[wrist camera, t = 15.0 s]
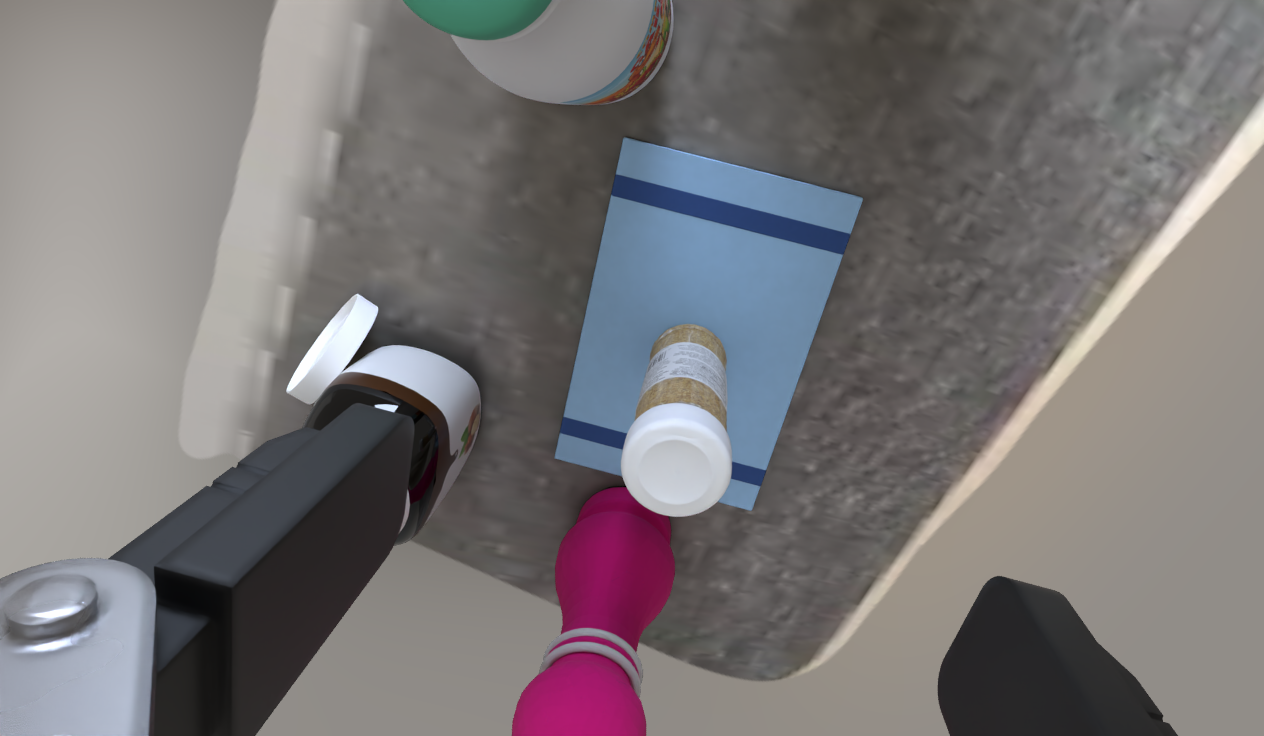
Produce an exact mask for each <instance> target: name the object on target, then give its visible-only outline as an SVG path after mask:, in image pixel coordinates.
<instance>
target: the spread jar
mask: <svg viewBox="0 0 1264 736" xmlns="http://www.w3.org/2000/svg"><path fill="white" fill-rule="evenodd" d="M377 314H378V307H377V306H376V305H374V304H373V303H371V302H369V301H368V300H366V299H365V298H363V297H362V296H360V295H359V294H356V295H354V296H353V297H352V298H351V299H350V300H349V301H348V302H347V303H346V304H345V305H344V306H343V307H342V308H341V309H340V310H339V312H338V313H337V314H336V315H335V316H334V317H333V319H332V320H331V321H330V322H329V324H328V325H327V326H326V328H325V329H324V330H323V332H322V333H321V334H320V336H319V337H318V338H317V340H316V341H315V343H314V344H313V345H312V347H311V348H310V350H309V351H308V353H307V354H306V356H305V357H304V359H303V360H302V362H301V363H300V365H299V366H298V368H297V370H296V371H295V373H294V375H293V377H292V379H291V380H290V382H289V385H288V387H287V390H286V391H287V393H288V394H290V395H292V396H294V397H296V398H297V399H299V400H301V401H303V402H305V403H306V404H312V403H314V402H315V401H316V402H315V404H314V406H313V407H312V409H311V411H310V413H309V415H308V416H307V418H306V420H305V422H304V424H303V426H302V428H301V429H303V428H305V427H308V428H311V429H315V430H319V431H320V430H322V429H323V428H324V427H325V426H327V425H328V424H329V423H330V422H332V421H333V420H334V419H335V418H336V417H338V416H339V415H340V414H341V413H343V412H344V411H345V410H346V409H348V408H349V407H350V406H351V405H353V404H355V403H361V404H365V405H368V406H372V407H376V408H380V409H383V410H387V411H391V412H395V413H398V414H402V415H406V416H410V417H411V418H412V419H413V422H414V440H413V449H412V457H411V465H410V474H409V482H408V490H407V498H406V507H405V513H404V518H403V522H402V526H401V529H400V532H399V534H398V537H397V539H396V542H395V544H394V546H396V545H399V544H403V543H406V542H407V541H409V540H410V539H412V538H413V537H414V536H415V535H416V534H417V533H418V532H419V531H420V530H421V529H422V527H423V526H424V525H425V524H426V522H427V521H428V519H429V518H430V517H431V515H432V514H433V512H434V511H435V510H436V508H437V507H438V505H439V504H440V503H441V501H442V500H443V498H444V497H445V495H446V494H447V493H448V491H449V490H450V488H451V486H452V485H453V483H454V482H455V480H456V478H457V477H458V475H459V473H460V471H461V469H462V468H463V466H464V464H465V462H466V460H467V458H468V456H469V454H470V452H471V450H472V448H473V445H474V443H475V440H476V437H477V434H478V431H479V427H480V422H481V414H482V401H481V394H480V390H479V387H478V385H477V383H476V381H475V380H474V378H473V377H472V376H471V375H470V374H469V373H468V372H467V371H466V370H464V369H463V368H462V367H460V366H459V365H457V364H455V363H454V362H452V361H450V360H448V359H447V358H444V357H442V356H440V355H438V354H435V353H432V352H429V351H426V350H422V349H419V348H414V347H409V346H402V345H390V346H384V347H381V348H378V349H376V350H374V351H372V352H370V353H369V354H367V355H365V356H364V357H362V358H361V359H360V360H358V361H357V362H355V363H354V364H353V365H351V366H350V367H348V368H347V369H346V370H344V368H345V367H346V366H347V364H348V363H349V362H350V360H351V359H352V357H353V356H354V354H355V353H356V351H357V350H358V348H359V347H360V345H361V344H362V342H363V341H364V339H365V337H366V336H367V334H368V332H369V331H370V329H371V327H372V325H373V323H374V321H375V319H376V316H377ZM343 370H344V371H343ZM342 371H343V372H342ZM341 372H342V373H341Z"/></svg>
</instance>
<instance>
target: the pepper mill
mask: <svg viewBox="0 0 1264 736" xmlns="http://www.w3.org/2000/svg"><path fill="white" fill-rule="evenodd" d="M670 538H671V525H670V521H669V517H668V516H666V515H662V514H658V513H656V512H653V511H651V510H649V509H648V508H646V507H644V506H643V505H642V504H640V503H639V502H638V501H637V500H636V499H635V498H634V497H633V496H632V495H631V494H630V492H629V491H628V489H627V487H613V488H609V489H605V490H602V491H600V492H598V493H596V494H595V495H593V496H592V497H591V498H590V499H589V500H588V501H587V502H586V503H585V504H584V506H583V507H582V509H581V511H580V513H579V516H578V519H577V522H576V525H575V526H573V527H572V528H571V529H570V530H569V531H568V533H567V534H566V536H565V537H564V539H563V540H562V542H561V545H560V547H559V551H558V556H557V560H556V565H555V582H556V591H557V594H558V598H559V602H560V605H561V610H562V616H563V626H562V631H561V635H559V636H558V637H557V638H556V639H554V640H553V641H552V642H551V643H550V644H549V646H548V648H547V650H546V651H545V654H544V659H543V662H542V664H541V667H540V671H539V674H538V675H537V676H536V677H535V678H534V679H533V680H532V681H531V682H530V683H529V685H528V686H527V687H526V688H525V690H524V691H523V692H522V694H521V697H520V699H519V701H518V704H517V707H516V711H515V714H514V718H513V725H512V736H646V719H645V715H644V710H643V707H642V704H641V701H640V699H639V697H640V693H641V683H642V678H643V670H642V664H641V661H640V659H639V657H638V655H637V653H636V651H637V646H638V642H639V638H640V636H641V634H642V632H643V630H644V629H645V628H646V627H647V626H648V625H649V624H650V623H651V622H652V621H653V620H654V619H655V617H656V616H657V615H658V614H659V613H660V612H661V610H662V608H663V606H664V605H665V603H666V601H667V599H668V597H669V595H670V592H671V589H672V585H673V580H674V575H675V562H674V557H673V553H672V550H671V548H670Z"/></svg>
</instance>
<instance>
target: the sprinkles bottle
mask: <svg viewBox="0 0 1264 736" xmlns="http://www.w3.org/2000/svg"><path fill="white" fill-rule="evenodd" d="M726 363H727V359H726V353H725V350H724V347H723V345H722V343H721V341H720V339H719V338H718V337H716V336H715V335H714V333H712V332H711V331H709V330H708V329H706V328H704V327H702V326H698V325H696V324H683V325H677V326H675V327H672V328H670V329H668V330H666V331H665V332H664V333H663V334H661V335H660V336H659V338H658V339H657V340H656V341H655V343H654V345H653V347H652V350H651V353H650V363H649V365H648V367H647V370H646V374H645V378H644V381H643V385H642V388H641V392H640V395H639V400H638V403H637V407H636V413H635V420H634V423H633V424H632V425H631V427H630V429H629V431H628V433H627V436H626V439H625V443H624V447H623V452H622V458H621V473H622V477H623V480H624V483H625V485H626V487H627V489H628V491H629V492H630V494H631V495H632V496H633V497H634V498H635V499H636V500H637V501H638V502H639V503H640V504H642V505H643V506H644V507H646V508H648V509H649V510H651V511H653V512H656V513H658V514H662V515H666V516H673V517H683V516H690V515H695V514H698V513H700V512H703V511H705V510H707V509H708V508H710V507H711V506H713V505H714V504H715V503H716V502H717V501H719V499H720V498H721V497H722V496H723V494H724V493H725V491H726V490H727V487H728V485H729V483H730V479H731V474H732V449H731V443H730V439H729V436H728V434H727V425H726V422H727V402H728V401H727V378H726V372H725V371H726Z"/></svg>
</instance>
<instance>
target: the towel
mask: <svg viewBox="0 0 1264 736" xmlns="http://www.w3.org/2000/svg"><path fill="white" fill-rule="evenodd" d="M862 201H863V198H862V197H859V196H856V195H852V194H848V193H844V192H840V191H836V190H832V189H828V188H824V187H820V186H816V185H812V184H808V183H804V182H800V181H796V180H793V179H789V178H785V177H781V176H777V175H773V174H769V173H765V172H761V171H757V170H753V169H749V168H745V167H741V166H737V165H733V164H730V163H726V162H722V161H718V160H714V159H710V158H706V157H702V156H698V155H694V154H690V153H686V152H682V151H678V150H674V149H670V148H666V147H663V146H659V145H655V144H651V143H647V142H643V141H639V140H635V139H631V138H627V137H625V138H623V142H622V147H621V151H620V156H619V161H618V165H617V170H616V175H615V179H614V183H613V188H612V193H611V198H610V202H609V207H608V212H607V216H606V221H605V226H604V230H603V235H602V239H601V244H600V249H599V253H598V258H597V263H596V267H595V272H594V277H593V281H592V286H591V290H590V295H589V300H588V304H587V309H586V314H585V318H584V323H583V328H582V332H581V337H580V341H579V346H578V351H577V355H576V360H575V365H574V369H573V374H572V379H571V383H570V388H569V392H568V397H567V402H566V406H565V411H564V416H563V420H562V424H561V429H560V434H559V439H558V443H557V448H556V453H555V459H559V460H563V461H566V462H570V463H574V464H578V465H581V466H585V467H589V468H593V469H596V470H600V471H604V472H608V473H611V474H615V475H619V476H622V473H621V458H622V452H623V447H624V443H625V439H626V436H627V433H628V431H629V429H630V427H631V425H632V424H633V423H634V420H635V413H636V407H637V403H638V400H639V395H640V392H641V388H642V385H643V381H644V378H645V374H646V370H647V367H648V365H649V363H650V353H651V350H652V347H653V345H654V343H655V341H656V340H657V339H658V338H659V336H660V335H661V334H663V333H664V332H665V331H666V330H668V329H670V328H672V327H675V326H677V325H683V324H696V325H698V326H702V327H704V328H706V329H708V330H709V331H711V332H712V333H714V335H715V336H716V337H718V338H719V339H720V341H721V343H722V345H723V347H724V350H725V353H726V359H727V363H726V371H725V372H726V378H727V401H728V402H727V422H726V425H727V434H728V436H729V439H730V443H731V449H732V474H731V479H730V483H729V485H728V487H727V490H726V491H725V493H724V494H723V496H722V497H721V498H720V499H719V501H717V502H720V503H723V504H727V505H731V506H735V507H738V508H742V509H746V510H749V511H752V508H753V506H754V503H755V500H756V497H757V494H758V492H759V489H760V486H761V484H762V481H763V478H764V475H765V473H766V469H767V466H768V464H769V461H770V458H771V455H772V452H773V450H774V447H775V444H776V441H777V439H778V436H779V433H780V430H781V427H782V425H783V422H784V419H785V416H786V413H787V411H788V408H789V405H790V402H791V399H792V397H793V394H794V391H795V388H796V385H797V383H798V380H799V377H800V374H801V371H802V369H803V366H804V363H805V360H806V357H807V355H808V352H809V349H810V346H811V343H812V341H813V338H814V335H815V332H816V329H817V327H818V324H819V321H820V318H821V316H822V313H823V310H824V307H825V304H826V302H827V299H828V296H829V293H830V290H831V288H832V285H833V282H834V279H835V276H836V274H837V271H838V268H839V265H840V262H841V260H842V257H843V254H844V252H845V249H846V246H847V243H848V240H849V238H850V234H851V232H852V229H853V226H854V223H855V220H856V218H857V215H858V212H859V209H860V206H861V204H862Z"/></svg>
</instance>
